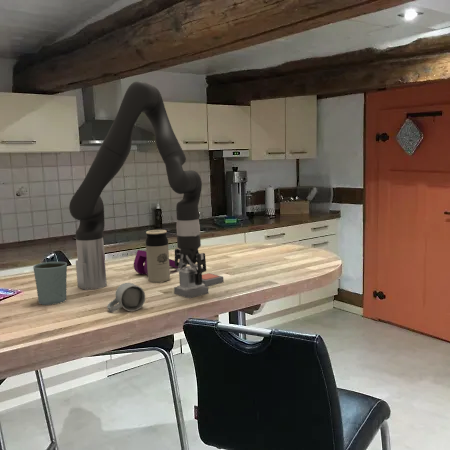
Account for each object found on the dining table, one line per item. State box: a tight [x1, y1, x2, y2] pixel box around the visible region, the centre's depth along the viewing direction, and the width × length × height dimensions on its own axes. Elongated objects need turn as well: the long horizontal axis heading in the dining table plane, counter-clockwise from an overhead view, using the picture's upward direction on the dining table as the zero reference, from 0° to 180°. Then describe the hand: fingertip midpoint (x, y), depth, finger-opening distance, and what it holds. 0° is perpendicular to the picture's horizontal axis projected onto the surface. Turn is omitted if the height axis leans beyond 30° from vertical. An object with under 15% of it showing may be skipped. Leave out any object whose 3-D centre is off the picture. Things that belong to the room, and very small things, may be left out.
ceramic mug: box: [106, 282, 146, 313], centre depth 150 cm, size 11×8×8 cm
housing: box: [175, 265, 205, 291], centre depth 163 cm, size 8×5×7 cm, turn 129°
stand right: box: [202, 272, 224, 287], centre depth 177 cm, size 8×8×2 cm
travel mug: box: [145, 229, 171, 283], centre depth 182 cm, size 8×8×18 cm
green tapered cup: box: [32, 261, 68, 306], centre depth 161 cm, size 10×10×12 cm
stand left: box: [173, 286, 210, 299], centre depth 164 cm, size 8×8×2 cm
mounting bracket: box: [133, 249, 178, 276], centre depth 194 cm, size 9×8×18 cm
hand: (190, 282), depth 164 cm, fingers open, 8 cm apart
